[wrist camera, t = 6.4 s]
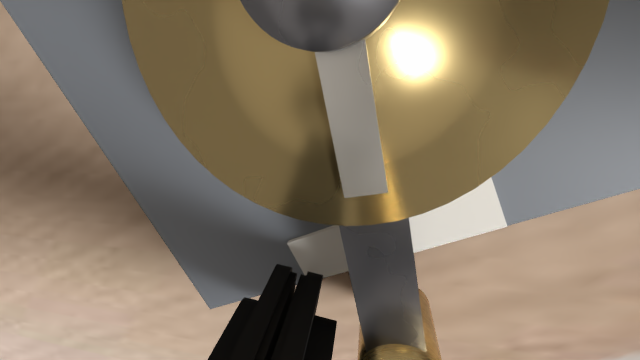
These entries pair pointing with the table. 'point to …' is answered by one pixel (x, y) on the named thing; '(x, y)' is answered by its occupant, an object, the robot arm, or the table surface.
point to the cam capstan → (362, 115)
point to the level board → (307, 237)
